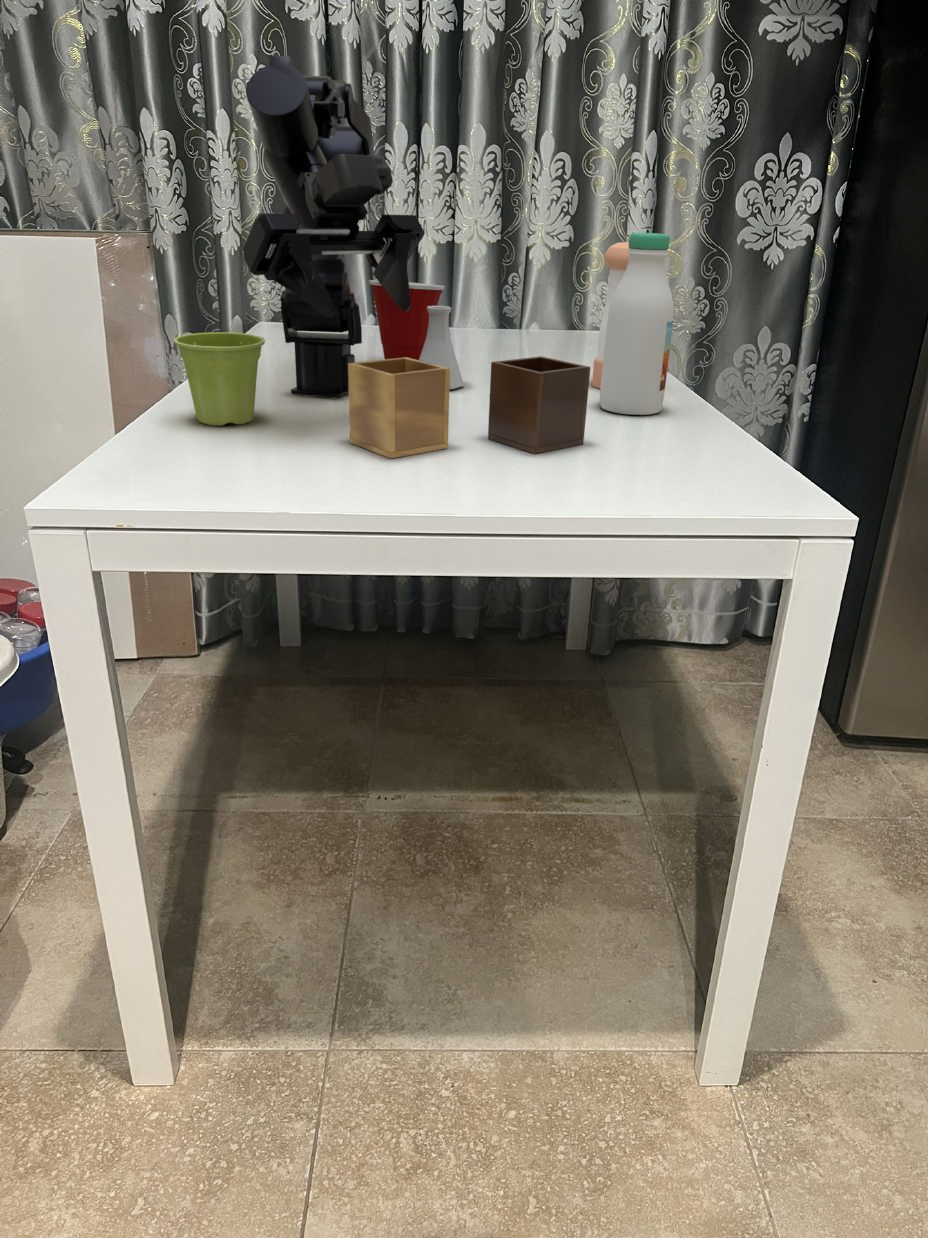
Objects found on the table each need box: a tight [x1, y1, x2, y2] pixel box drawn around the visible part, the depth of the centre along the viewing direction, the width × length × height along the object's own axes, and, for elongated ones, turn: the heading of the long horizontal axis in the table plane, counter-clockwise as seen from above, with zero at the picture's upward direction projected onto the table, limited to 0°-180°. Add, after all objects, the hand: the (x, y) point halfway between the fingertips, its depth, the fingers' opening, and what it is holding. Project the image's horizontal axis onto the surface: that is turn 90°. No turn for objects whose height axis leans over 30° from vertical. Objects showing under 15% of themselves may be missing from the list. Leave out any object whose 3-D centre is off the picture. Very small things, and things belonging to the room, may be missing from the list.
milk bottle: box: [599, 232, 674, 416], centre depth 107 cm, size 8×8×20 cm
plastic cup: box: [368, 279, 445, 360], centre depth 130 cm, size 11×11×12 cm
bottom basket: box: [487, 355, 591, 455], centre depth 94 cm, size 7×7×8 cm
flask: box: [419, 305, 465, 390], centre depth 119 cm, size 7×7×10 cm
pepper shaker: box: [591, 236, 629, 389], centre depth 120 cm, size 7×7×19 cm
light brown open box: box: [348, 357, 450, 459], centre depth 91 cm, size 7×7×8 cm
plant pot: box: [173, 331, 266, 427], centre depth 98 cm, size 9×9×9 cm
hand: (370, 311), depth 90 cm, fingers open, 9 cm apart
